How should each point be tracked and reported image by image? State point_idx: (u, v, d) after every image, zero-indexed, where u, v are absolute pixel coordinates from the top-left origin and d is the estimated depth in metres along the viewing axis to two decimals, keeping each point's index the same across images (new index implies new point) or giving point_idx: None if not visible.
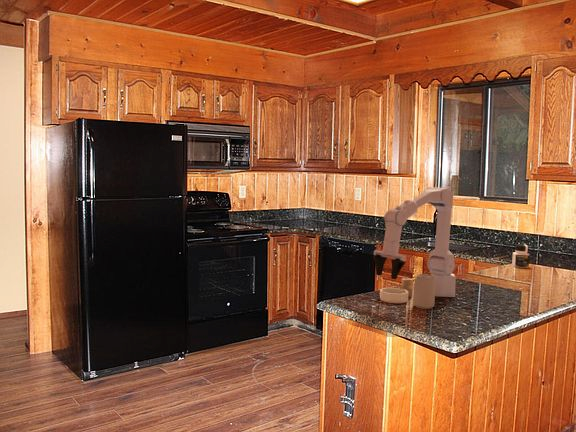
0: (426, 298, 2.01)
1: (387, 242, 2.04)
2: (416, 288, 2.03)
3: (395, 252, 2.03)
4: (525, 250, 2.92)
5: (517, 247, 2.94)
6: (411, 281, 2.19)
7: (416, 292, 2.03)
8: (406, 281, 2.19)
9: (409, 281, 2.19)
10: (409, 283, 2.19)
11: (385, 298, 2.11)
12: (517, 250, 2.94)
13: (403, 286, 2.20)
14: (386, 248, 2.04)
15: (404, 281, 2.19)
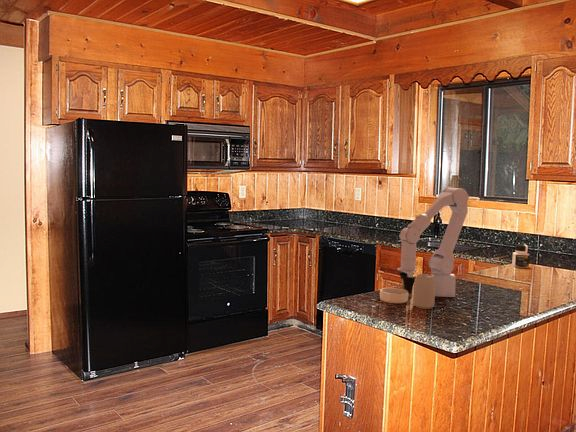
0: (426, 298, 2.01)
1: (401, 259, 2.20)
2: (416, 288, 2.03)
3: (408, 268, 2.17)
4: (525, 250, 2.92)
5: (517, 247, 2.94)
6: None
7: (416, 292, 2.03)
8: None
9: None
10: None
11: (385, 298, 2.11)
12: (517, 250, 2.94)
13: (403, 286, 2.20)
14: None
15: None
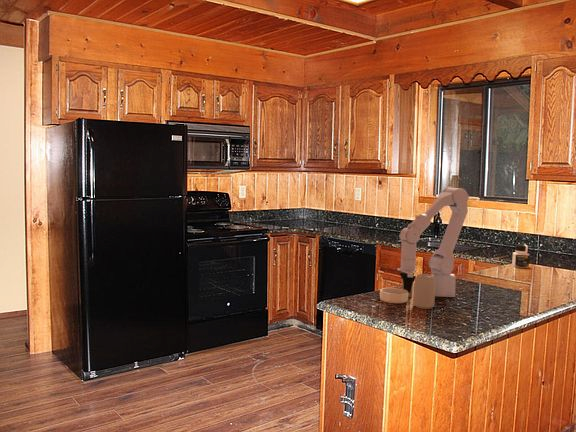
0: (426, 298, 2.01)
1: (401, 259, 2.20)
2: (416, 288, 2.03)
3: (408, 269, 2.17)
4: (525, 250, 2.92)
5: (517, 247, 2.94)
6: None
7: (416, 292, 2.03)
8: None
9: None
10: None
11: (385, 298, 2.11)
12: (517, 250, 2.94)
13: (403, 286, 2.20)
14: None
15: None
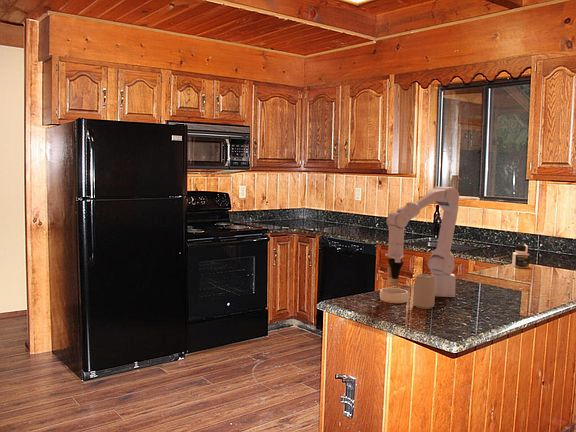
0: (426, 298, 2.01)
1: (388, 245, 2.12)
2: (416, 288, 2.03)
3: (396, 254, 2.10)
4: (525, 250, 2.92)
5: (517, 247, 2.94)
6: None
7: (416, 292, 2.03)
8: None
9: None
10: None
11: (385, 298, 2.11)
12: (517, 250, 2.94)
13: (389, 274, 2.13)
14: (388, 250, 2.13)
15: (390, 269, 2.12)
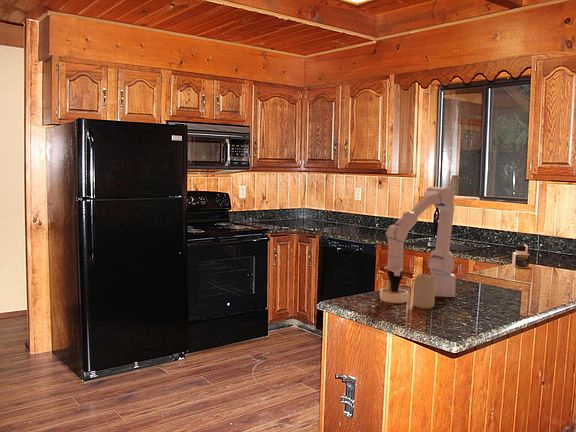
0: (426, 298, 2.01)
1: (388, 258, 2.13)
2: (416, 288, 2.03)
3: (395, 267, 2.11)
4: (525, 250, 2.92)
5: (517, 247, 2.94)
6: None
7: (416, 292, 2.03)
8: None
9: None
10: None
11: (385, 298, 2.11)
12: (517, 250, 2.94)
13: (389, 288, 2.13)
14: None
15: (390, 283, 2.13)
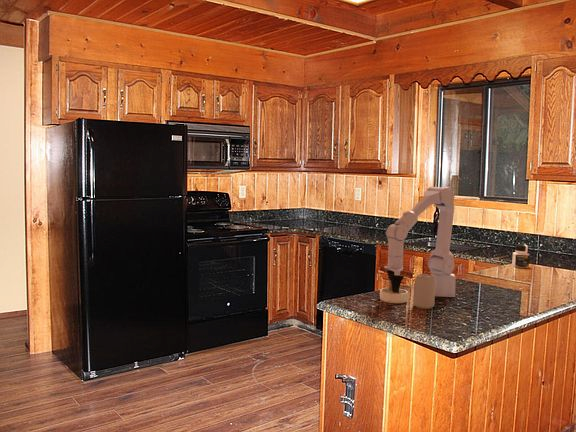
0: (426, 298, 2.01)
1: (388, 257, 2.13)
2: (416, 288, 2.03)
3: (395, 266, 2.11)
4: (525, 250, 2.92)
5: (517, 247, 2.94)
6: None
7: (416, 292, 2.03)
8: None
9: None
10: None
11: (385, 298, 2.11)
12: (517, 250, 2.94)
13: (389, 288, 2.13)
14: (388, 263, 2.13)
15: (390, 283, 2.13)
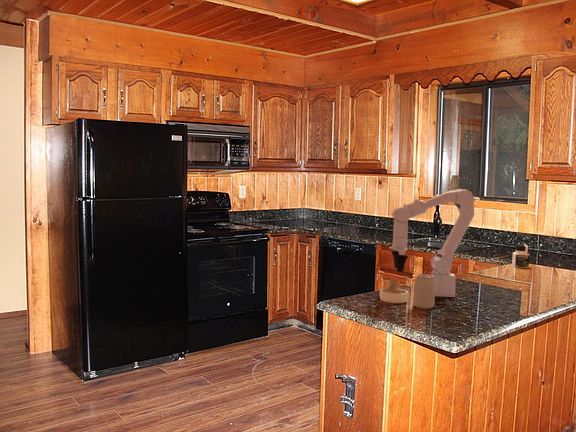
0: (426, 298, 2.01)
1: (393, 238, 2.23)
2: (416, 288, 2.03)
3: (400, 247, 2.21)
4: (525, 250, 2.92)
5: (517, 247, 2.94)
6: (398, 283, 2.13)
7: (416, 292, 2.03)
8: (392, 283, 2.13)
9: (395, 283, 2.13)
10: (395, 285, 2.13)
11: (385, 298, 2.11)
12: (517, 250, 2.94)
13: (389, 288, 2.13)
14: (393, 243, 2.23)
15: (390, 283, 2.13)
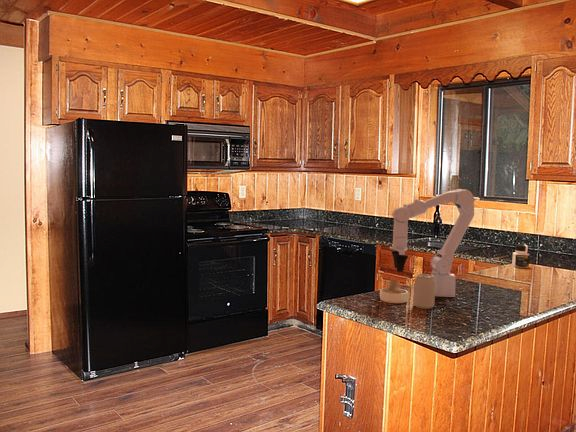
0: (426, 298, 2.01)
1: (393, 238, 2.23)
2: (416, 288, 2.03)
3: (400, 247, 2.21)
4: (525, 250, 2.92)
5: (517, 247, 2.94)
6: (398, 283, 2.13)
7: (416, 292, 2.03)
8: (392, 283, 2.13)
9: (395, 283, 2.13)
10: (395, 285, 2.13)
11: (385, 298, 2.11)
12: (517, 250, 2.94)
13: (389, 288, 2.13)
14: (393, 243, 2.23)
15: (390, 283, 2.13)
